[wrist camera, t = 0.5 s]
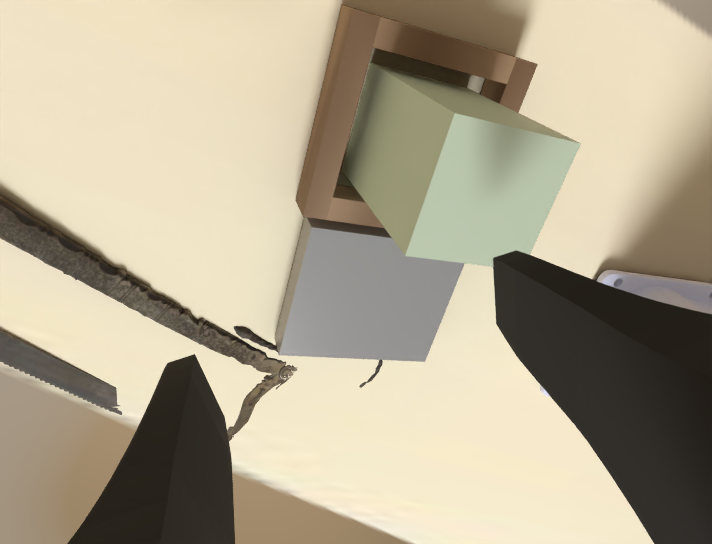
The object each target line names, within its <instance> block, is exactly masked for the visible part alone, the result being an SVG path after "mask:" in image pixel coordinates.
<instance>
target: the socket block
mask: <svg viewBox="0 0 712 544" xmlns="http://www.w3.org/2000/svg"><path fill="white" fill-rule="evenodd" d="M373 47H374V48H377V49H381V50H385V51H388V52H392V53H396V54H399V55H403V56H406V57H410V58H414V59H417V60H421V61H425V62H428V63H432V64H435V65H439V66H443V67H446V68H450V69H454V70H457V71H461V72H464V73H468V74H472V75H475V76H479V77H483V78H486V80H485V82H484V85H483V88H482V91H481V93H480V95H482V96H484V97H486V98H489V99H491V100H493V101H495V102H497V103H499V104H501V105H503V106H505V107H507V108H509V109H511V110H513V111H515V112H517V113H518V112H519V110H520V107H521V105H522V102H523V100H524V97H525V95H526V92H527V90H528V87H529V85H530V82H531V80H532V77H533V75H534V72H535V69H536V67H537V64H535V63H532V62H529V61H526V60H523V59H520V58H517V57H514V56H511V55H507V54H504V53H501V52H497V51H494V50H491V49H487V48H484V47H481V46H477V45H474V44H471V43H467V42H464V41H461V40H457V39H454V38H451V37H447V36H444V35H441V34H437V33H434V32H431V31H427V30H424V29H421V28H417V27H414V26H411V25H407V24H404V23H401V22H397V21H394V20H391V19H388V18H384V17H381V16H378V15H374V14H371V13H368V12H364V11H361V10H358V9H354V8H351V7H348V6H344V5H342V6H341V10H340V14H339V18H338V23H337V27H336V31H335V35H334V40H333V44H332V48H331V52H330V57H329V61H328V65H327V69H326V74H325V78H324V82H323V86H322V91H321V95H320V99H319V103H318V108H317V112H316V116H315V120H314V125H313V129H312V133H311V137H310V142H309V146H308V150H307V154H306V159H305V163H304V167H303V171H302V176H301V180H300V184H299V188H298V193H297V197H296V202H297V204H298V207H299V209H300V211H301V213H302V215H303V217H309V218H316V219H323V220H330V221H337V222H344V223H351V224H358V225H365V226H372V227H379V228H384V227H383V225H382V224H381V222H380V221H379V220H378V218H377V217H376V216H375V214H374V213H373V212H372V210H371V209H370V208H369V206H368V205H367V204H366V202H365V201H364V199H363V198H362V197H361V195H360V194H359V193H358V191H357V190H356V189H355V188H353V187H347V186H342V185H336V183H337V179H338V176H339V172H340V168H341V164H342V161H343V157H344V153H345V149H346V146H347V142H348V138H349V134H350V131H351V127H352V123H353V119H354V116H355V112H356V108H357V104H358V101H359V97H360V93H361V89H362V86H363V82H364V78H365V74H366V71H367V67H368V63H369V59H370V56H371V52H372V48H373Z"/></svg>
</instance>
